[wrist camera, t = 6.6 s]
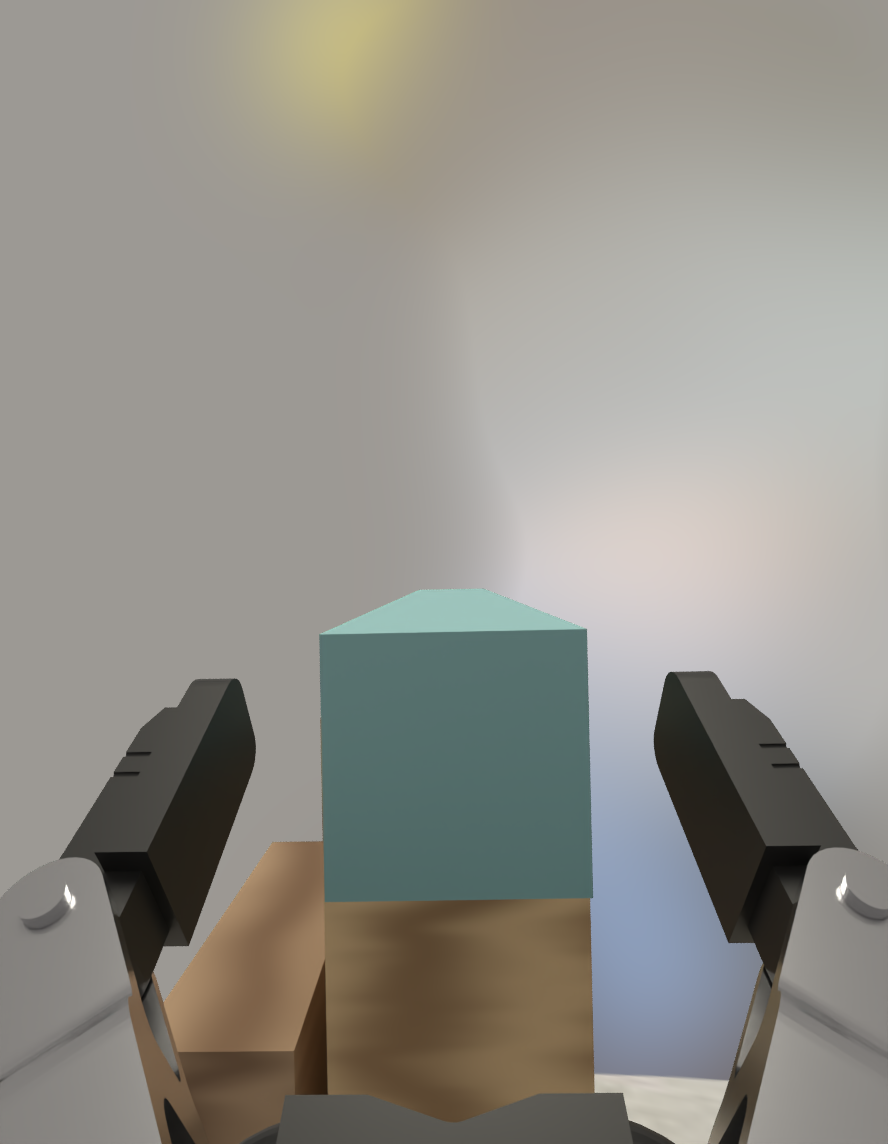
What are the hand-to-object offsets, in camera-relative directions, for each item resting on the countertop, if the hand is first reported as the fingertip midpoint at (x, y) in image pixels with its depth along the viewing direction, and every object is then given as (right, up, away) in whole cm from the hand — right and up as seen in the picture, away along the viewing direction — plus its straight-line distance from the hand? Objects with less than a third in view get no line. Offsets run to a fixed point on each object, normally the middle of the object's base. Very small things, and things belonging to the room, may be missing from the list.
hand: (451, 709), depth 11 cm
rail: (0, -2, +8) cm, 9 cm away
